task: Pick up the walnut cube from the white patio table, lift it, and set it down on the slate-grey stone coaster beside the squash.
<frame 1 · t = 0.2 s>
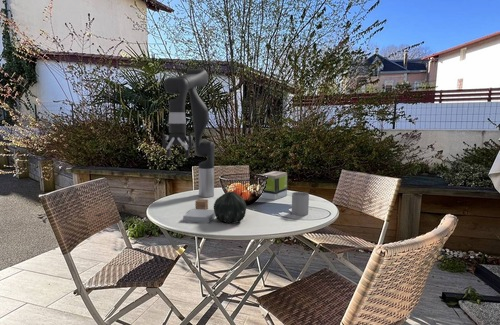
hand: (178, 157, 145), 28 cm above the table, tool pointing down, fingers open, 8 cm apart
walnut cube: (201, 209, 161), on the table
cup: (299, 213, 157), on the table
tea box: (274, 197, 191), on the table
squash: (230, 221, 144), on the table
stone coaster: (200, 218, 147), on the table
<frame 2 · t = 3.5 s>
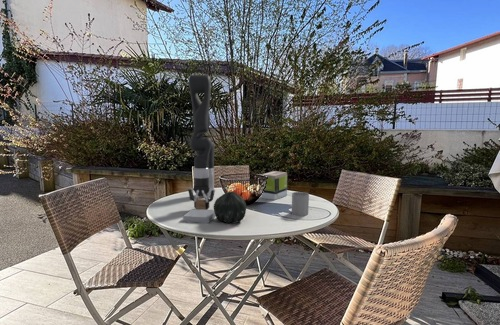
hand: (201, 208, 161), 0 cm above the table, tool pointing down, fingers closed on walnut cube, 5 cm apart
walnut cube: (201, 209, 161), on the table, touching gripper
everything else where it was.
when the fingers open (4 cm above the table, at t = 8.6 s): walnut cube drops 1 cm, resting on stone coaster.
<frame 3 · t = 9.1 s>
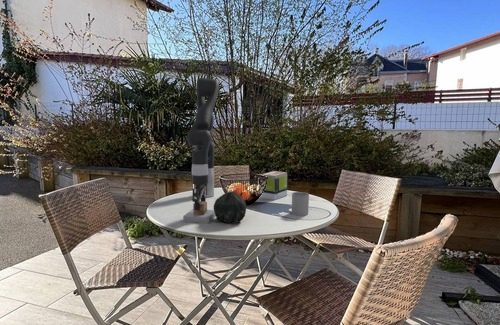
hand: (200, 207, 146), 5 cm above the table, tool pointing down, fingers open, 8 cm apart
walnut cube: (200, 213, 147), point 2 cm above the table, touching stone coaster
everything else where it was.
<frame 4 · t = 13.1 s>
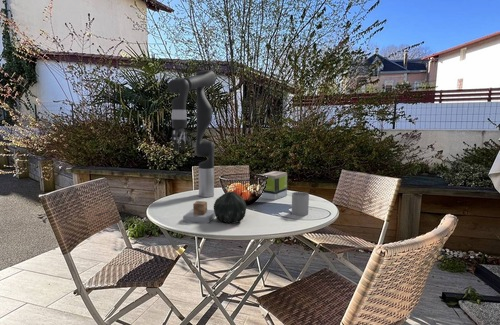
hand: (179, 150, 164), 30 cm above the table, tool pointing down, fingers open, 8 cm apart
nothing on the table moved.
at the end: walnut cube inside the target area on the stone coaster (0.0 cm from its centre), point 2.5 cm above the stone coaster's base; walnut cube tilted 0°; the gripper is holding nothing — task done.
